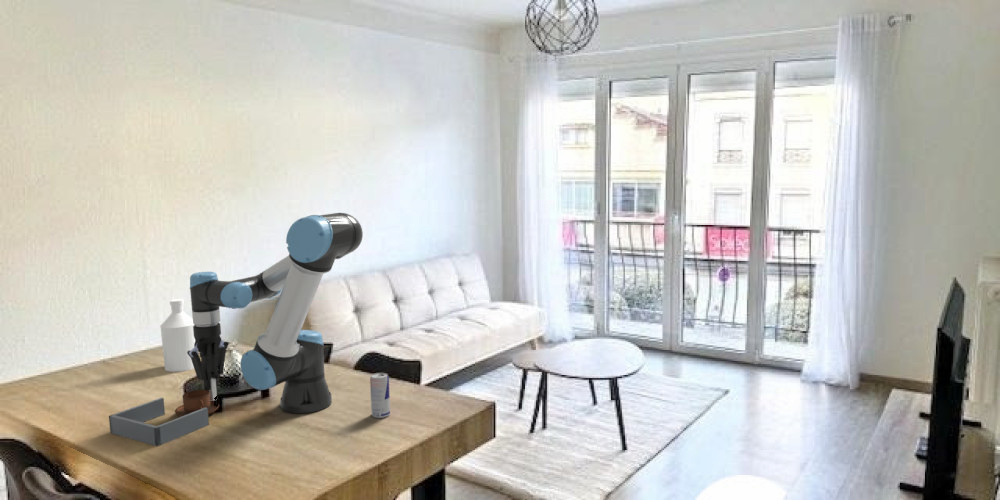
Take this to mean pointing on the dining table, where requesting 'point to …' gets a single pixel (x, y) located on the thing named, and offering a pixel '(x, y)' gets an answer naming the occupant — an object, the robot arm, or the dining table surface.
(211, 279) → the robot arm
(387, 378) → the energy drink
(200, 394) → the cup and saucer
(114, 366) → the dining table surface
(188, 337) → the bottle
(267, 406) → the dining table surface
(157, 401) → the box
